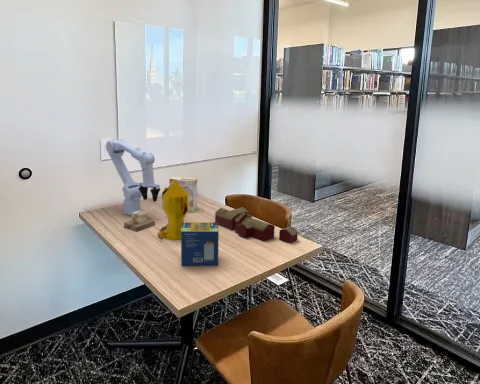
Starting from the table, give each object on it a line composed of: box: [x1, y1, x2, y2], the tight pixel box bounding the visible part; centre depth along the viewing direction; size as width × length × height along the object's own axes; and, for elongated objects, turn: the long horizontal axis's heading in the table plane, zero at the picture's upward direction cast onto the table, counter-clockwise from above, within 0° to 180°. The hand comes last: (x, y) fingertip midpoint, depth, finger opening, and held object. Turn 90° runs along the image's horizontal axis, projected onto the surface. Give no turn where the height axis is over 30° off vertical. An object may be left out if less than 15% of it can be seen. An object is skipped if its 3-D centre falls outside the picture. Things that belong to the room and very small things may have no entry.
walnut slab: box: [123, 217, 156, 233], centre depth 192 cm, size 10×12×3 cm
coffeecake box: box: [169, 175, 198, 213], centre depth 218 cm, size 15×7×20 cm, turn 77°
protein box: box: [180, 221, 220, 267], centre depth 153 cm, size 10×15×16 cm
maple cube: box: [131, 210, 147, 224], centre depth 191 cm, size 5×5×5 cm
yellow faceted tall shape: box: [157, 179, 189, 242], centre depth 179 cm, size 18×24×28 cm
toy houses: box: [214, 206, 300, 245], centre depth 188 cm, size 45×20×10 cm, turn 46°
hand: (150, 200), depth 201 cm, fingers open, 7 cm apart
